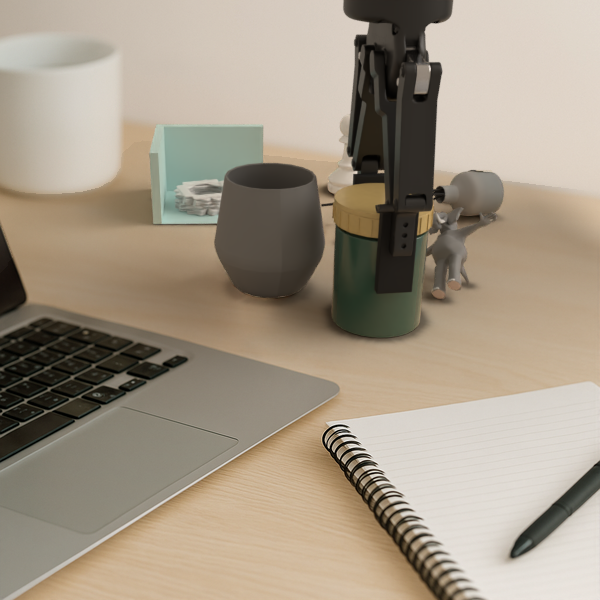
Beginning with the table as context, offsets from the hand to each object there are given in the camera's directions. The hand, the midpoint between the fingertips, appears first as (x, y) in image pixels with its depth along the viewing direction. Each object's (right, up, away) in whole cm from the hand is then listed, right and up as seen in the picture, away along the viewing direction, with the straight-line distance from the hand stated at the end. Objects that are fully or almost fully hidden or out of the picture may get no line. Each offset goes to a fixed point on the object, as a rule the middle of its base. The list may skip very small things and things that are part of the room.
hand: (378, 268), depth 66 cm
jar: (0, -4, +2) cm, 4 cm away
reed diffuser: (+6, +5, +22) cm, 24 cm away
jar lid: (0, +5, -2) cm, 5 cm away
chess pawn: (0, +10, +32) cm, 33 cm away
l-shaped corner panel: (-16, +8, +26) cm, 32 cm away
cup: (-9, -1, +7) cm, 11 cm away
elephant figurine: (+7, -1, +9) cm, 12 cm away
